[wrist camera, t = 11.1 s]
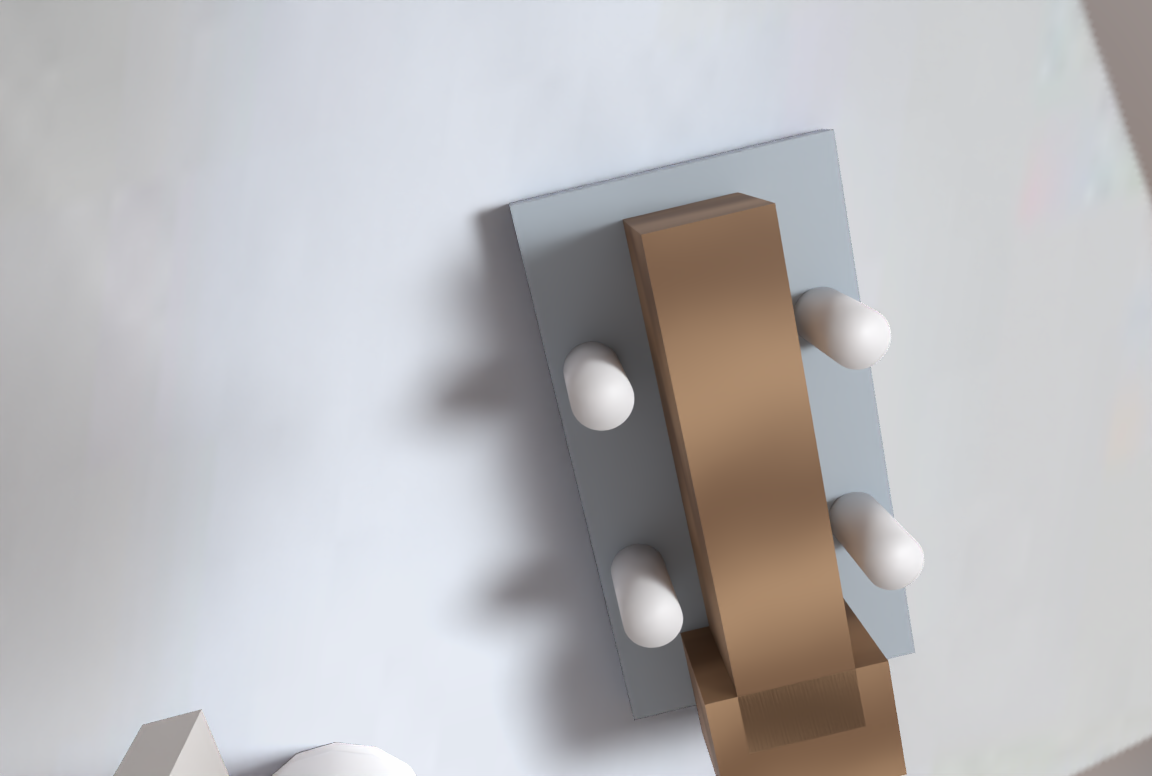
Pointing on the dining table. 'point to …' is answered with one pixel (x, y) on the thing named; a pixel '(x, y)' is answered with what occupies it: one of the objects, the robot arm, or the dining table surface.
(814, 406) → the rack
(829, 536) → the wooden toy mallet
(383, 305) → the dining table surface
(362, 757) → the foam cup
